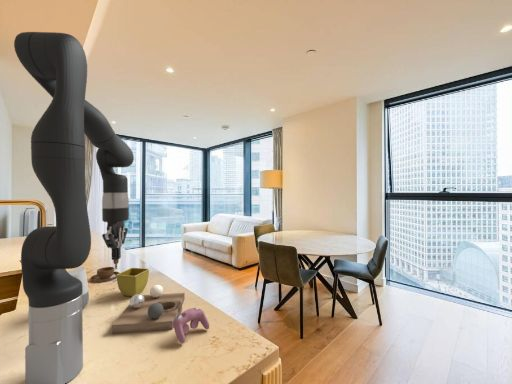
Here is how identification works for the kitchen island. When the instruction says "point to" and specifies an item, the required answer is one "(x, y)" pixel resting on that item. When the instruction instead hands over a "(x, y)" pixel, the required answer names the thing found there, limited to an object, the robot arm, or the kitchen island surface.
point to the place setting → (106, 273)
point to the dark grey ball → (155, 310)
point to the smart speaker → (81, 275)
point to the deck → (142, 322)
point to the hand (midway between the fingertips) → (116, 259)
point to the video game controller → (185, 317)
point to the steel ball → (137, 301)
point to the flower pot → (132, 281)
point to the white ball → (156, 291)
